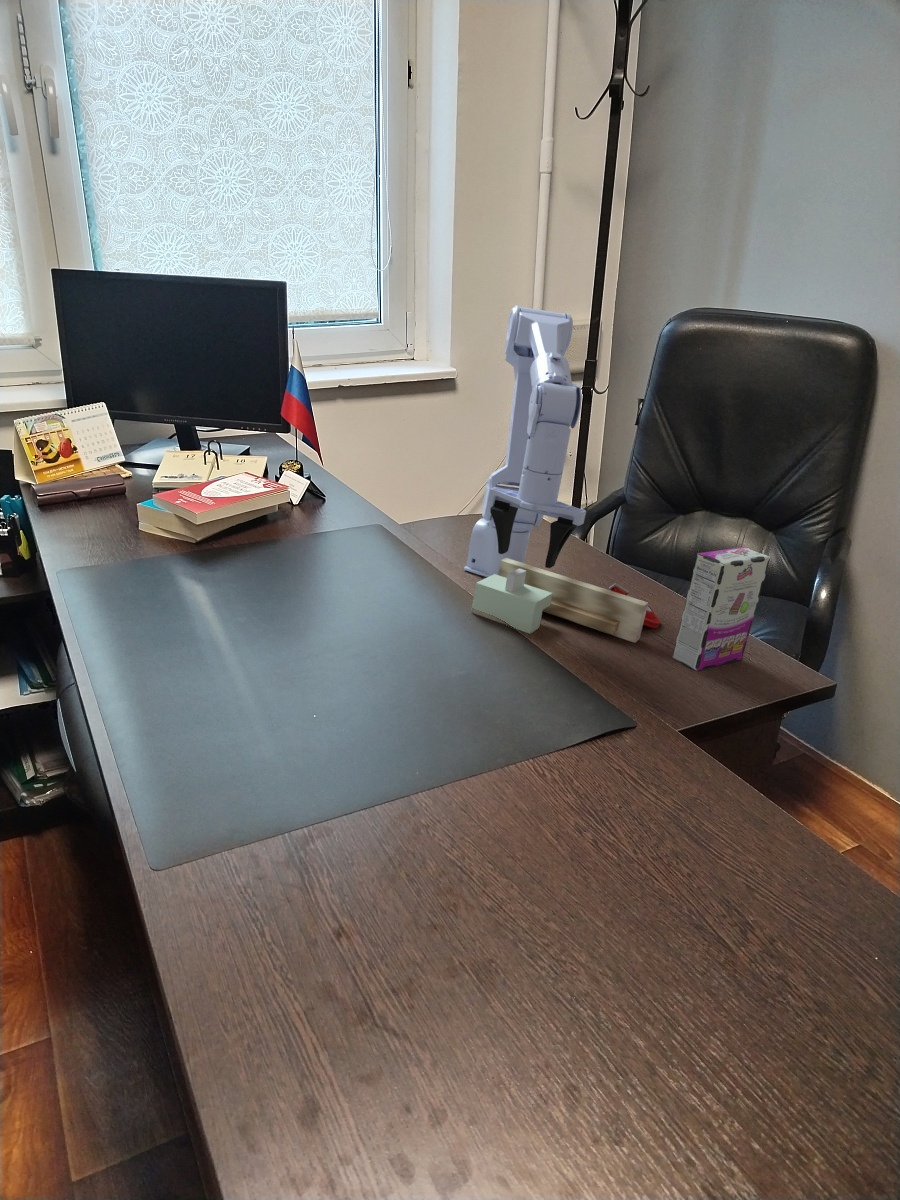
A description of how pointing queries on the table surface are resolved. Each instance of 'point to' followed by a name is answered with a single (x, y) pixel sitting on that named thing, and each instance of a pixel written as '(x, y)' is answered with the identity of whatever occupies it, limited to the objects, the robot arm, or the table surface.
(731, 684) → the table surface
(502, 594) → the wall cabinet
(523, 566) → the wall board
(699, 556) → the candy bar box
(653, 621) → the tracker holder
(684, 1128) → the table surface
